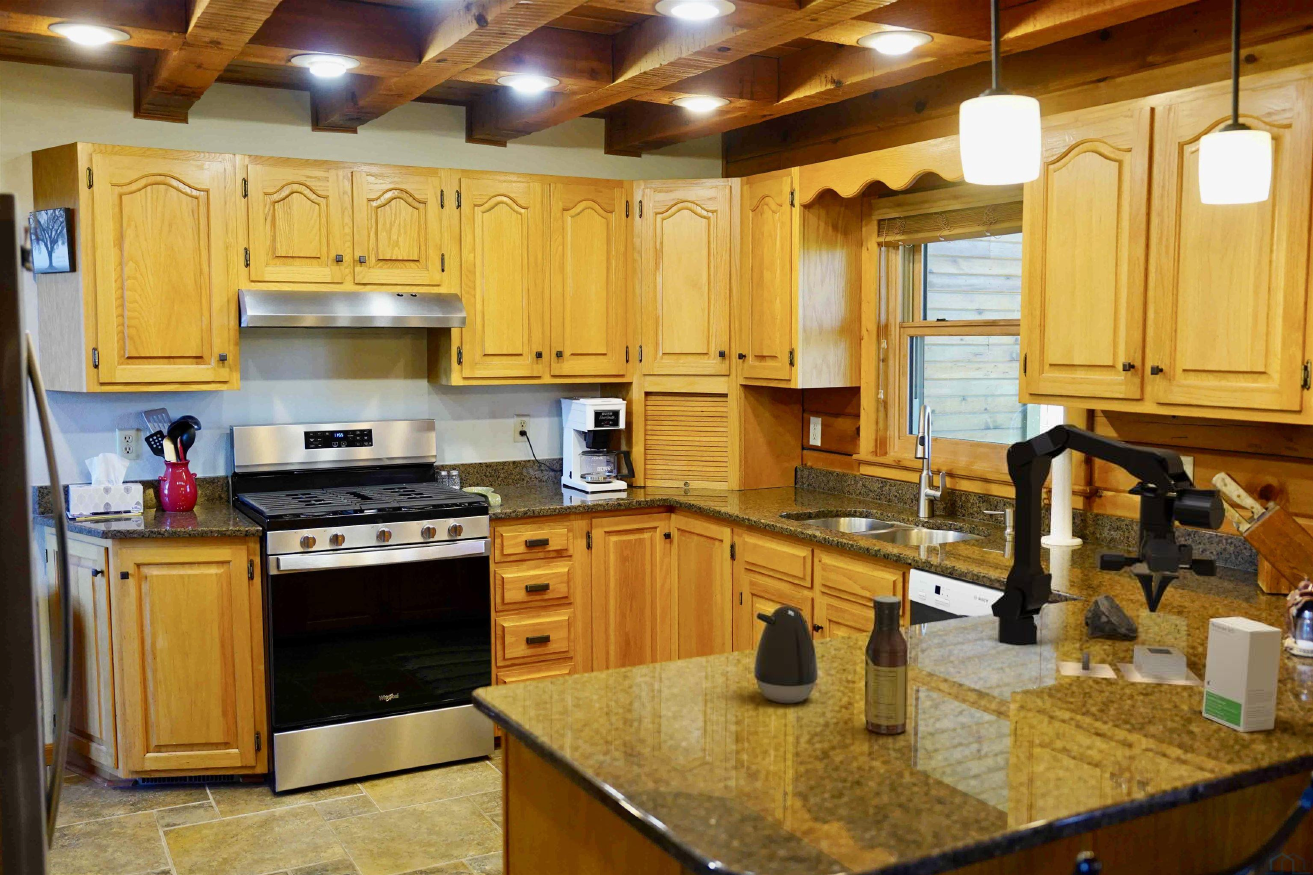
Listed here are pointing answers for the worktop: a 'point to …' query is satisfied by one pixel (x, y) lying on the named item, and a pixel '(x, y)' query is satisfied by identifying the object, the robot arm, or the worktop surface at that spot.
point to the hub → (1134, 677)
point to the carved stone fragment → (1109, 619)
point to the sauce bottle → (886, 670)
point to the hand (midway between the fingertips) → (1152, 612)
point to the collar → (1159, 663)
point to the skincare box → (1242, 673)
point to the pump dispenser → (785, 657)
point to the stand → (1085, 668)
